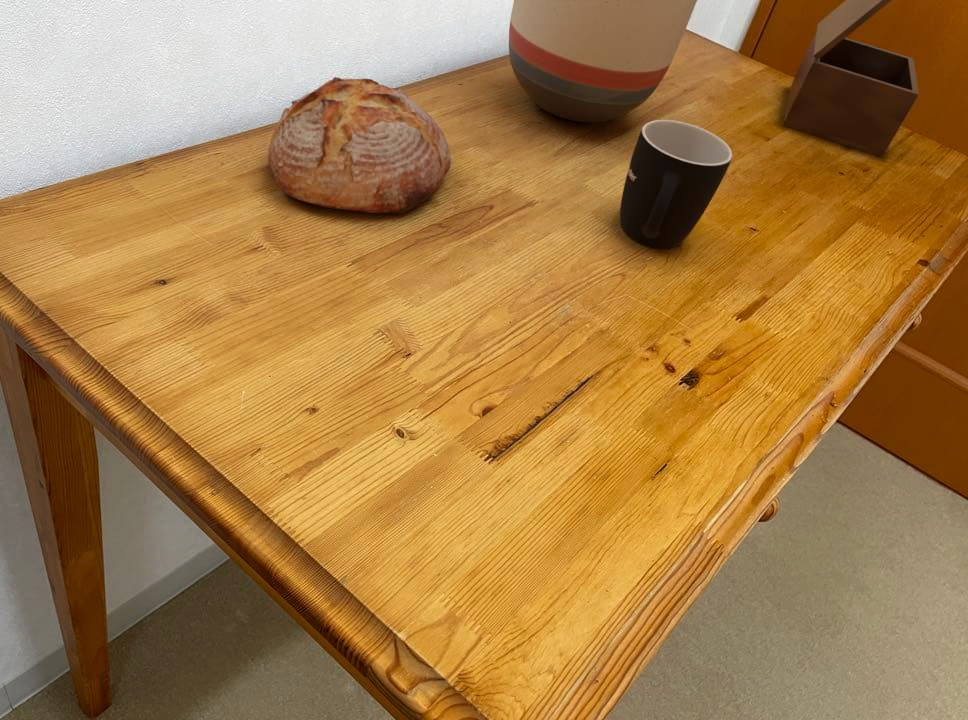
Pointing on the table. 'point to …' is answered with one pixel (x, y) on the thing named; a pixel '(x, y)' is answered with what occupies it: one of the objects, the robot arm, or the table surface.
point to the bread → (358, 149)
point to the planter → (594, 52)
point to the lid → (844, 23)
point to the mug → (671, 181)
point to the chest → (852, 95)
